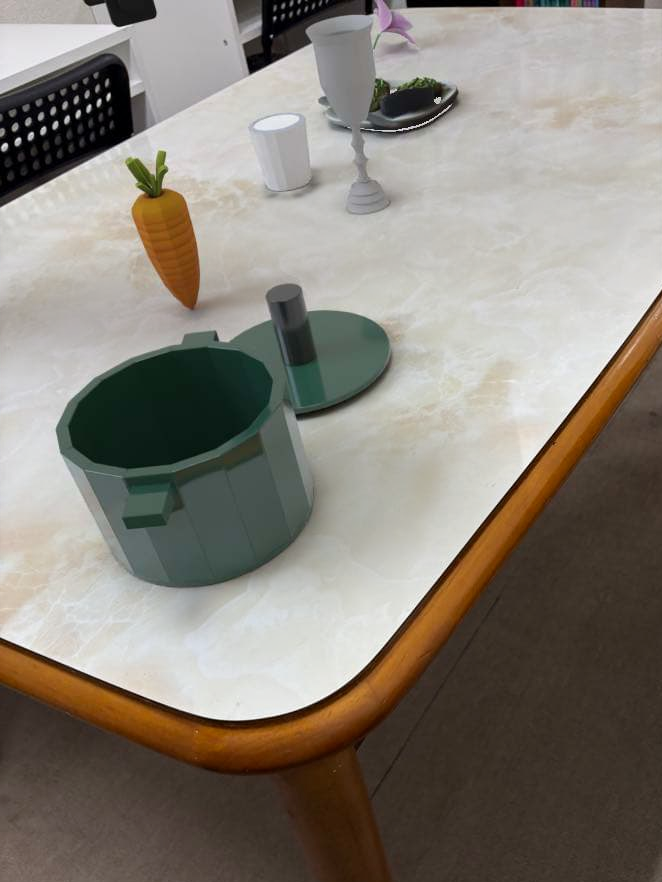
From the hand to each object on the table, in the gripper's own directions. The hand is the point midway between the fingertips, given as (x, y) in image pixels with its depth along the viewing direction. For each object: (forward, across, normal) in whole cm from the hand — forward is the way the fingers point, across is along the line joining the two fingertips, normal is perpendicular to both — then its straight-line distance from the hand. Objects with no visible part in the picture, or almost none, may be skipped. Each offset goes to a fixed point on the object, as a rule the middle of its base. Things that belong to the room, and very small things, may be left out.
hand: (120, 11), depth 64 cm
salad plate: (+26, -40, +39) cm, 62 cm away
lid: (+25, +13, +4) cm, 29 cm away
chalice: (+26, -14, +23) cm, 38 cm away
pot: (+26, +27, -9) cm, 38 cm away
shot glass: (+26, -28, +19) cm, 42 cm away
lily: (+26, -68, +53) cm, 90 cm away
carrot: (+26, -4, -1) cm, 27 cm away
